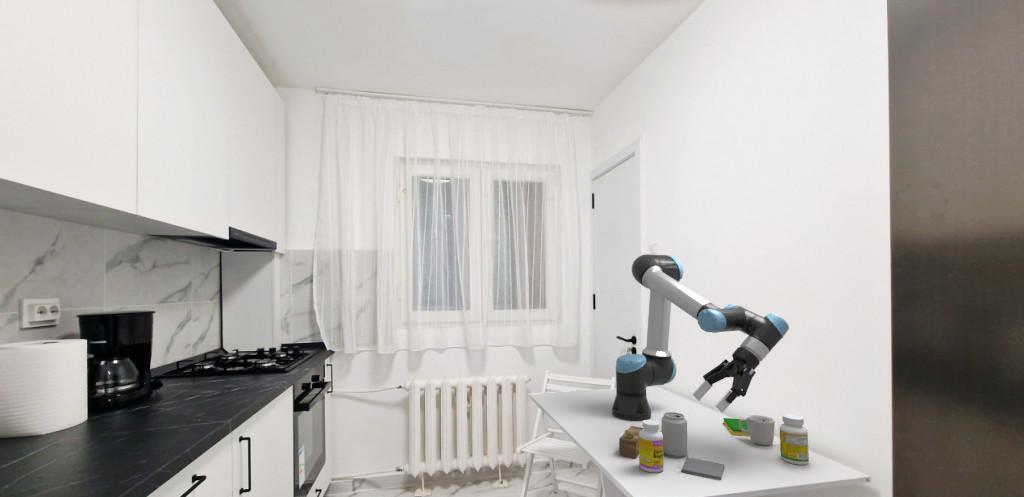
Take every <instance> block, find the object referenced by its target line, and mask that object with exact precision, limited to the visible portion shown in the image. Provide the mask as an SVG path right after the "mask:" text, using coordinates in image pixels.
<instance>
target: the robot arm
mask: <svg viewBox="0 0 1024 497" xmlns="http://www.w3.org/2000/svg"><path fill="white" fill-rule="evenodd" d="M683 268H684V267H683V265H682V263H681V262H680V260H679V259H678V258H677V257H675V256H672V255H667V254H647V253H646V254H642V255H639V256H638V257H637V258H636V257H635V259H634V261H633V262H632V265H631V274H632V277H633V278H634V280H636V282H637V283H639V284H640V285H641V286H642V287H644V288H645V289H649V301H648V302H649V304H648V315H647V316H648V317H647V331H646V332H647V333H646V344H645V345H646V346H645V348H643V349H642V351H641V354H638V353H632V354H631V353H629V354H627V353H626V354H623V355H620V356H618V357H617V359H616V360H615V361H616V362H615V364H616V365H615V384H616V385H615V398H614V402H613V404H612V408H611V414H612V417H613V416H614V417H615V418H617V419H621V420H624V421H625V420H626V421H633V422H634V421H635V422H636V421H637V422H643V421H644V420H651V419H652V409H651V407H650V403H649V400H648V397H647V388H648V387H656V386H662V385H666V384H669V383H671V382H673V381H674V379H675V377H676V374H677V370H678V369H677V365H676V363H675V360H674V359H673V358H672V353H671V351H669V341H670V340H669V339H670V327H671V326H670V325H671V310H672V309H671V308H672V304H674V306H676V307H677V308H679V309H681V310H682V311H683V312H685V313H686V314H688V315H689V316H691V317H692V318H693V319H695V320H696V321H697V324H698V326H699V327H700V329H701V330H702V331H704V332H706V333H712V334H713V333H714V334H715V333H725V332H736V331H737V332H742V333H744V334H745V335H747V337H746V338H745V339H744V340H743V342H741V343H740V344H739V346H738V347H737V348H736V349H735V350H734V351H733V352H732V355H731V357H732V360H731V361H729V360H728V359H724V360H722V362H721V363H720V364H718V365H717V366H715V367H714V368H712V369H711V370H709V371H708V372H707V373H705V374H704V375H702V378H703V379H704V381H703V382H702V383H701V384H700V385H699V387H698V388H697V389H696V390H695V391H694V392H693V393H692V396H693V397H694V398H695V399H696V400H697V401H698V402H699V401H701V400H702V399H703V398H704V396H705V395H706V394H707V393H708V392H709V391H710V390H711V388H712V387H713V385H714V384H715V383H718V382H720V381H723V379H726V378H733V379H732V384H731V388H729V389H728V390H727V392H725V394H724V395H723V396H722V397H721V398H720V399H719V400H718V402H717V403H716V404H715V405H714V406H715V408H717V409H718V411H720V412H721V413H722V414H723V413H725V411H726V410H727V409H728V408H729V406H730V405H731V404H732V403H733V402H734V400H736V398H739V397H740V396H741V397H745V396H746V395H747V392H748V390H749V387H750V384H751V382H752V379H753V378H754V376H755V375H756V374H757V373H756V371H755V370H756V368H758V366H759V365H760V364H761V362H762V361H763V360H764V359H765V358H766V357H767V356H768V355H769V354H770V352H771V351H772V349H774V348H775V347H776V345H777V344H778V343H779V342H780V341H781V340H782V339H783V338H784V337H785V335H787V332H788V331H789V330H790V326H789V323H788V321H787V320H785V318H783V317H781V316H780V315H778V314H776V313H772V312H770V313H767V314H766V315H764V316H762V315H759V314H757V313H755V312H753V311H750V310H749V309H746V308H745V307H743V306H741V305H737V304H735V303H728V304H727V305H725V306H724V308H722V307H721V308H720V307H718V306H717V305H715V304H714V303H712V302H710V301H709V300H708V299H706V298H704V297H703V296H701V295H700V294H698V293H696V292H694V291H693V290H692V289H690V288H688V287H687V286H686V285H683V284H682V283H680V281H681V280H682V279H683V276H684V269H683Z"/></svg>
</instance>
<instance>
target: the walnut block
mask: <svg viewBox="0 0 1024 497" xmlns="http://www.w3.org/2000/svg"><path fill="white" fill-rule="evenodd" d="M642 429H643V427H640V426H634V425H630V426H629V427H628V428H627V429H625V431H624V433H623V434H622V435H621V436H620V437H619V439H618V440H619V441H618V442H619V444H618V445H619V447H618V448H619V456H622V457H627V458H632V459H635V460H636V459H637V458H638V457H639V432H640V431H641V430H642Z"/></svg>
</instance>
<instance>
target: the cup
mask: <svg viewBox="0 0 1024 497" xmlns="http://www.w3.org/2000/svg"><path fill="white" fill-rule="evenodd" d="M740 419H741V420H740V421H739V428H740V430H741V431H742V432H744V433H747V434H749V435H750V436H749V438H750V440H751V442H753V443H754V444H757V445H758V446H771V445H773V443H774V438H775V436H774V435H775V425H776V421H775V419H774V418H772V417H769V416H765V415H760V414H757V415H756V414H751V415H748V416H747V417H746V418H745V417H744V418H740ZM742 422H746V423H747V425H748V429H747V430H744V429H743V427H742Z"/></svg>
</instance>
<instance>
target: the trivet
mask: <svg viewBox="0 0 1024 497" xmlns="http://www.w3.org/2000/svg"><path fill="white" fill-rule="evenodd" d="M724 467H725V464H724V463H720V462H716V461H710V460H704V459H700V458H693V457H688V456H687V457H686V458H685V461H684V462H683V465H682V468H681V473H684V474H688V475H689V474H690V475H694V476H698V477H704V478H708V479H714V480H719V481H722V478H723V473H724V469H725V468H724Z"/></svg>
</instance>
